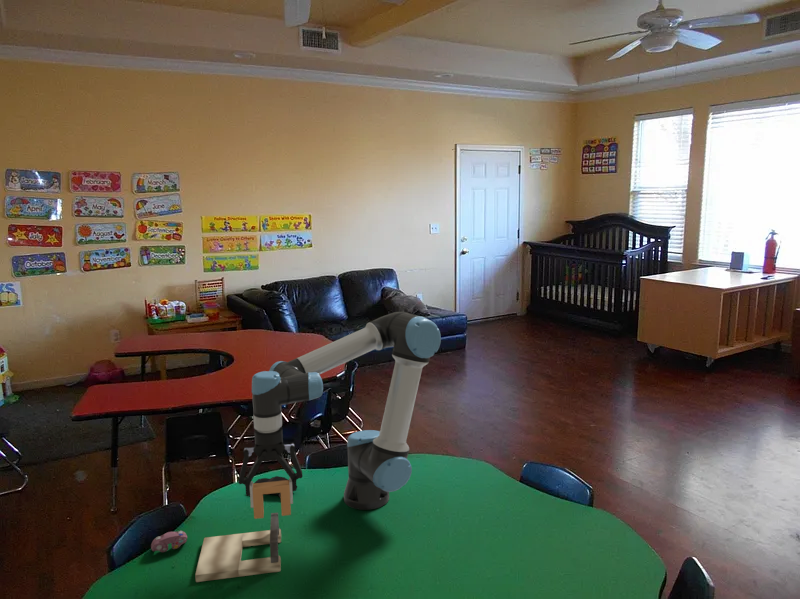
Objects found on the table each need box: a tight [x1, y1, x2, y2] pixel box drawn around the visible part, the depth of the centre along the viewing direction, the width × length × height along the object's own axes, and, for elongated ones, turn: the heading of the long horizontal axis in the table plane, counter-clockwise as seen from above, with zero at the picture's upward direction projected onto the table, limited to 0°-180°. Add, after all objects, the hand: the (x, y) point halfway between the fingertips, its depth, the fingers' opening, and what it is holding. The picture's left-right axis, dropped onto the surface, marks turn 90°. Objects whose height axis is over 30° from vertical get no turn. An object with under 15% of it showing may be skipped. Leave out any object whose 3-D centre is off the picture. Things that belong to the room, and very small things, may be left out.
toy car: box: [253, 475, 298, 499], centre depth 204 cm, size 7×16×5 cm, turn 72°
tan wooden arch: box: [253, 479, 292, 520], centre depth 166 cm, size 10×3×9 cm, turn 101°
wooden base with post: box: [195, 512, 282, 583], centre depth 167 cm, size 22×18×8 cm
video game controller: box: [150, 530, 188, 553], centre depth 171 cm, size 10×5×7 cm, turn 118°
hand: (272, 503), depth 167 cm, fingers closed on tan wooden arch, 10 cm apart
